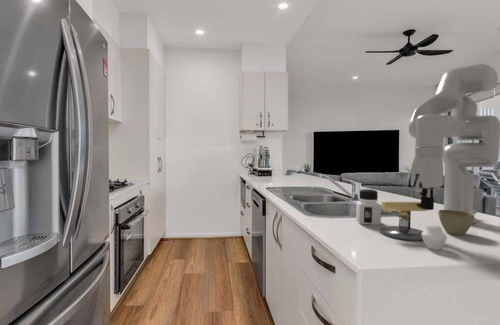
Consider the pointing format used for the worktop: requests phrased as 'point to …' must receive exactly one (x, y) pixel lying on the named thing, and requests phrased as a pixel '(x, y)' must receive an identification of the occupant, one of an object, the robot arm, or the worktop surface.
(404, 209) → the tan t-shaped block
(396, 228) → the post base
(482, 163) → the robot arm
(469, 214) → the olive brown bowl
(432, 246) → the white rounded lump
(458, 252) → the worktop surface
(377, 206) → the container
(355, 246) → the worktop surface
